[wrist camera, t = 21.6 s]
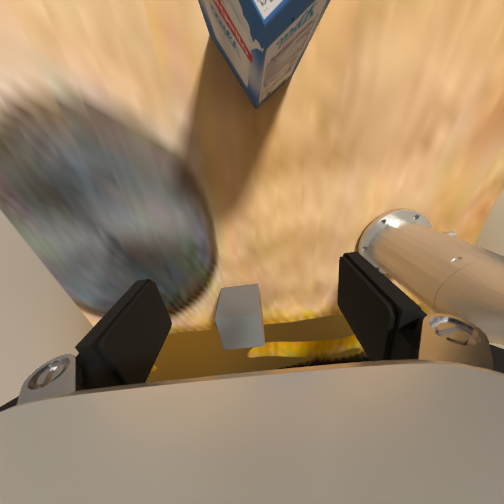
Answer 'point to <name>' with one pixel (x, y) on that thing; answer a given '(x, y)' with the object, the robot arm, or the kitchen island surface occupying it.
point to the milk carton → (262, 38)
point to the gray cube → (240, 317)
